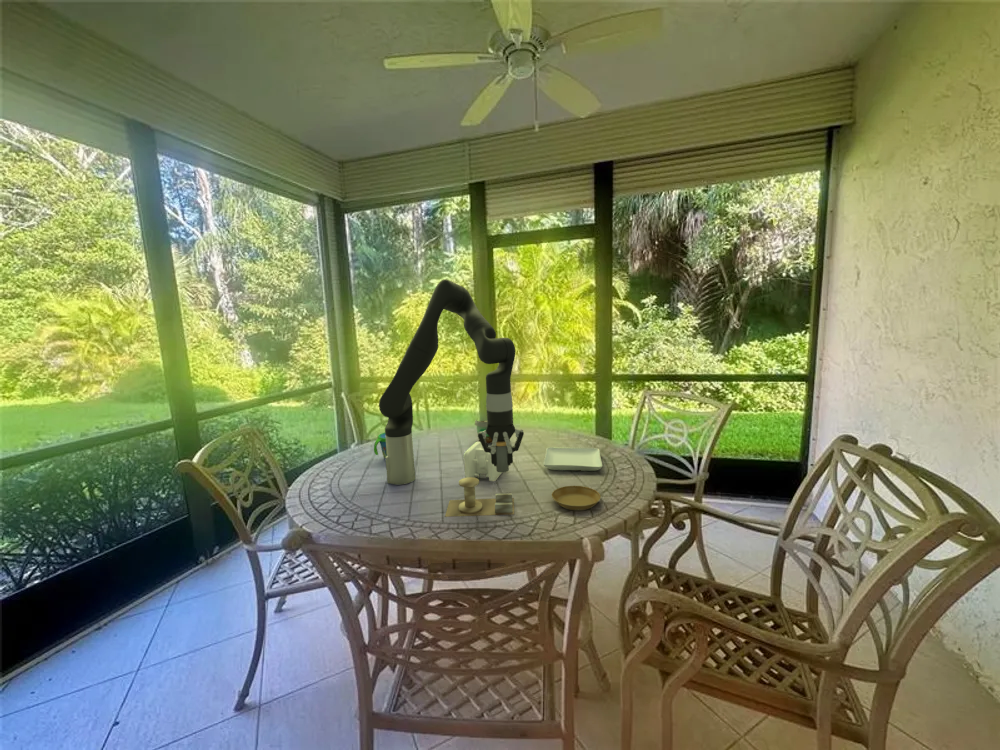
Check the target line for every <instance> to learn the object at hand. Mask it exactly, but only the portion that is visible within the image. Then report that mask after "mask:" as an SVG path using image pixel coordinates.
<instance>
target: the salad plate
mask: <svg viewBox="0 0 1000 750" xmlns="http://www.w3.org/2000/svg"><path fill="white" fill-rule="evenodd" d="M542 465H543V467H545V468H547V469H548V470H552V471H553V470H554V471H563V470H581V471H580V472H593V471H595V472H596V471H598V470H601V469H602V468H603V462H602V458H601V451H600V448H598V447H596V448H595V447H567V446H566V447H565V446H564V447H559V446H558V447H554V446H550V447H546V449H545V456H544V459H543V463H542Z"/></svg>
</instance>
